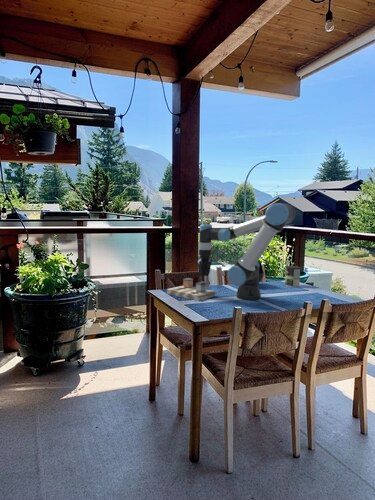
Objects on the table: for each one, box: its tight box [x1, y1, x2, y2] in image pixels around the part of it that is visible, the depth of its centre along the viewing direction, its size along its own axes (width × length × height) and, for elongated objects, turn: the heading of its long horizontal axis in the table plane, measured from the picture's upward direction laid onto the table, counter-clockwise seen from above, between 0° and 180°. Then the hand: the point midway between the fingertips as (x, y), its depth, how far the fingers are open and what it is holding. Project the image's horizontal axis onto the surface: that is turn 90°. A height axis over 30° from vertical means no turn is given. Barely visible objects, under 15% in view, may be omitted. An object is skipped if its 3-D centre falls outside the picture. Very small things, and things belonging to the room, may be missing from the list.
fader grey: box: [195, 281, 207, 292], centre depth 228 cm, size 4×5×5 cm
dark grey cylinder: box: [258, 261, 265, 283], centre depth 264 cm, size 20×20×19 cm
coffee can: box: [284, 265, 301, 288], centre depth 267 cm, size 10×10×14 cm
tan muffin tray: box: [166, 285, 216, 302], centre depth 232 cm, size 26×17×3 cm, turn 50°
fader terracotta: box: [182, 277, 194, 288], centre depth 241 cm, size 4×5×5 cm
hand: (203, 286), depth 231 cm, fingers closed
